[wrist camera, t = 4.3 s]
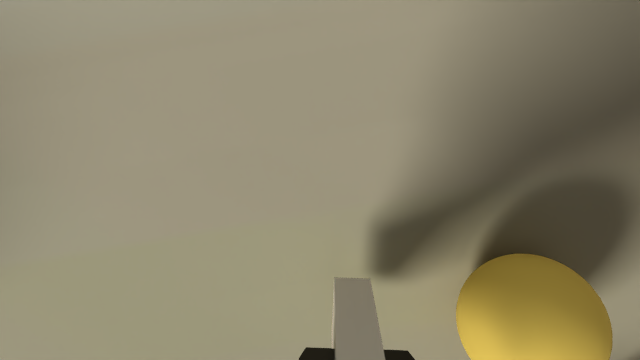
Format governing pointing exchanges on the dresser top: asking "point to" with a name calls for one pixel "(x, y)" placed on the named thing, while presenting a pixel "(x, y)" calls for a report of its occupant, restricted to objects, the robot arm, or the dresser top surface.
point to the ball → (531, 312)
